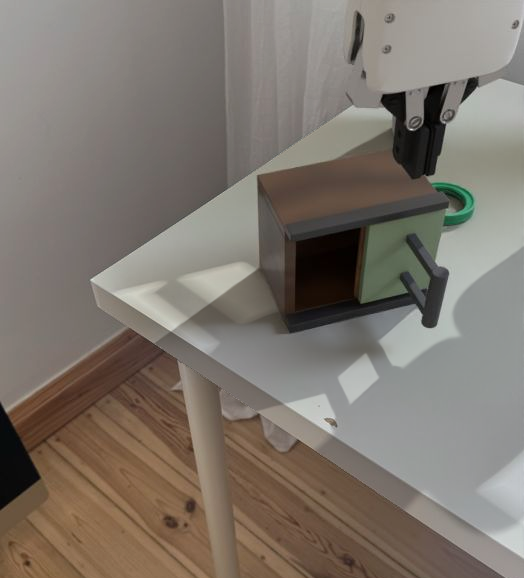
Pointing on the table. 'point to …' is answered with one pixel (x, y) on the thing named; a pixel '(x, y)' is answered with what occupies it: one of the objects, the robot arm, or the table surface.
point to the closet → (332, 232)
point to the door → (405, 263)
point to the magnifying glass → (463, 196)
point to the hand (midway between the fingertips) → (414, 166)
